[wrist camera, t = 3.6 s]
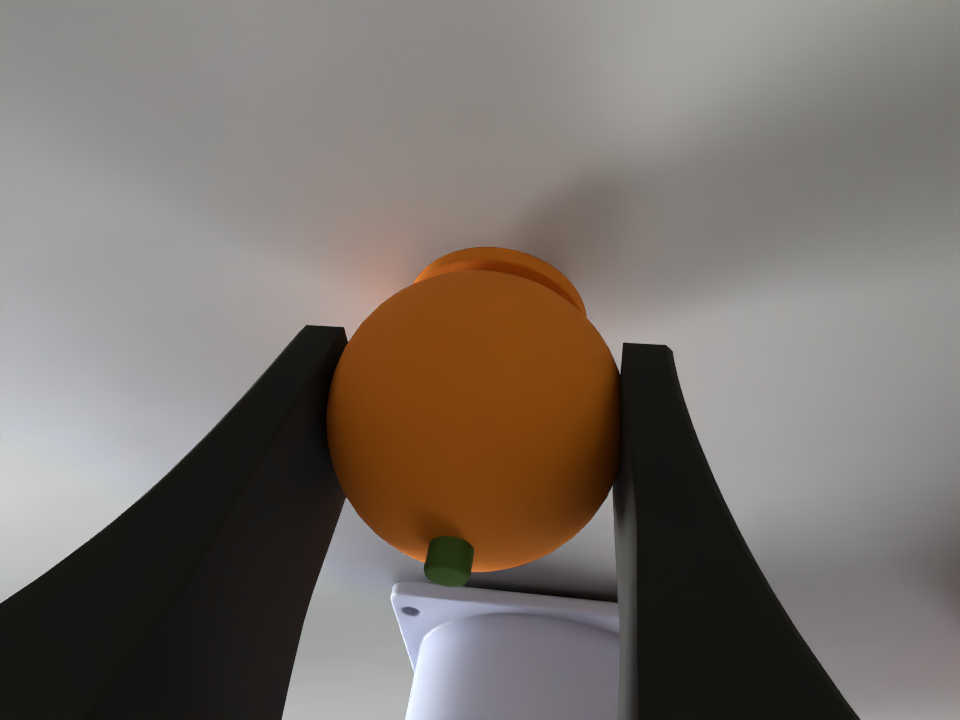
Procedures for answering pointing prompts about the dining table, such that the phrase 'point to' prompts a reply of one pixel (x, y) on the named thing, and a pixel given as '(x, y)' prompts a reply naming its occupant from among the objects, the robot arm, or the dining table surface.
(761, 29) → the dining table surface
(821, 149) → the dining table surface
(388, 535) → the clementine
